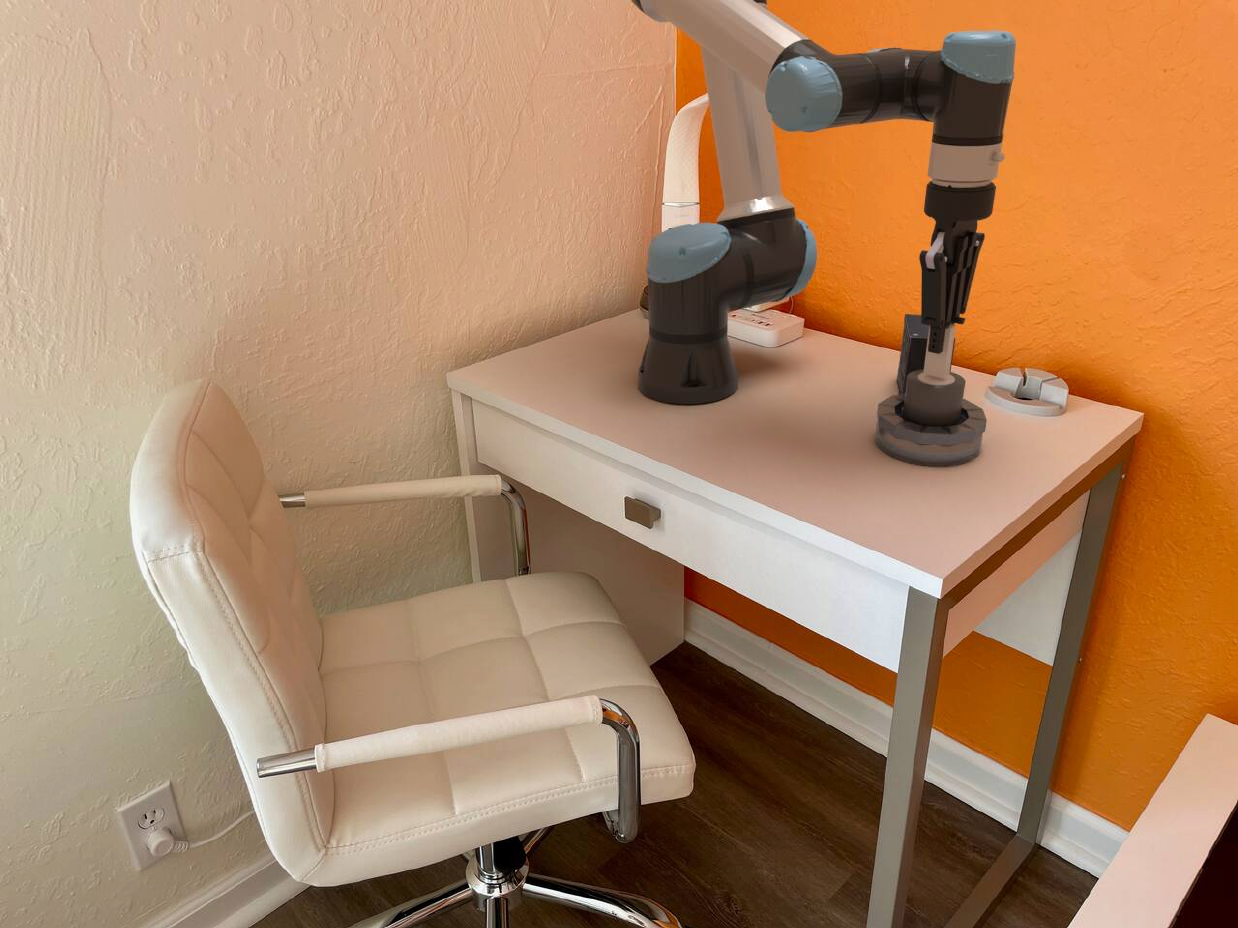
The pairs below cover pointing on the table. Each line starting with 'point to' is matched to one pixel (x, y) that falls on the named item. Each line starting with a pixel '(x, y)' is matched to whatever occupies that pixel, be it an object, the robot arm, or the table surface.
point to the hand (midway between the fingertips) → (936, 374)
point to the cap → (933, 399)
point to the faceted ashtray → (929, 436)
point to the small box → (913, 349)
